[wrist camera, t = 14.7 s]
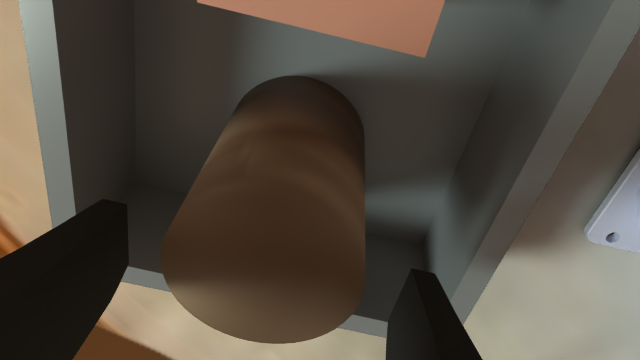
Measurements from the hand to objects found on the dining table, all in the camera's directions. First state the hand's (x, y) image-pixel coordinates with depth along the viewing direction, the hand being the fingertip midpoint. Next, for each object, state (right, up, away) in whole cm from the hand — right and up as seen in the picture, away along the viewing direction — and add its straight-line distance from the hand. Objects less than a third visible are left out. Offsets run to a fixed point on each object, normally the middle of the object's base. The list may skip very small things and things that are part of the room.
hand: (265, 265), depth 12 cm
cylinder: (+1, +4, +5) cm, 7 cm away
